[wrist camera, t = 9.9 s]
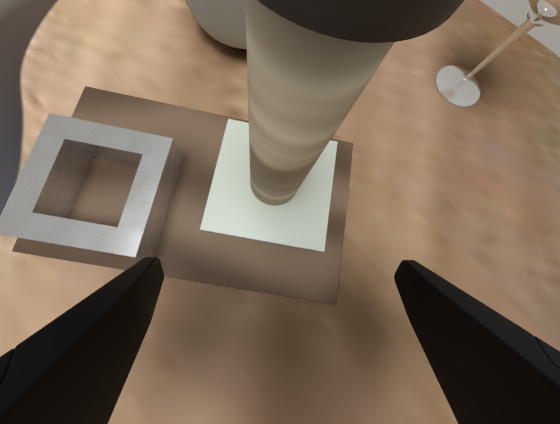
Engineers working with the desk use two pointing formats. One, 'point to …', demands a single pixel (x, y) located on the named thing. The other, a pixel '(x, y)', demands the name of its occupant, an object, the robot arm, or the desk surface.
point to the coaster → (257, 215)
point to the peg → (315, 75)
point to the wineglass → (492, 56)
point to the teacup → (222, 20)
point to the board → (197, 208)
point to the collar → (70, 177)
